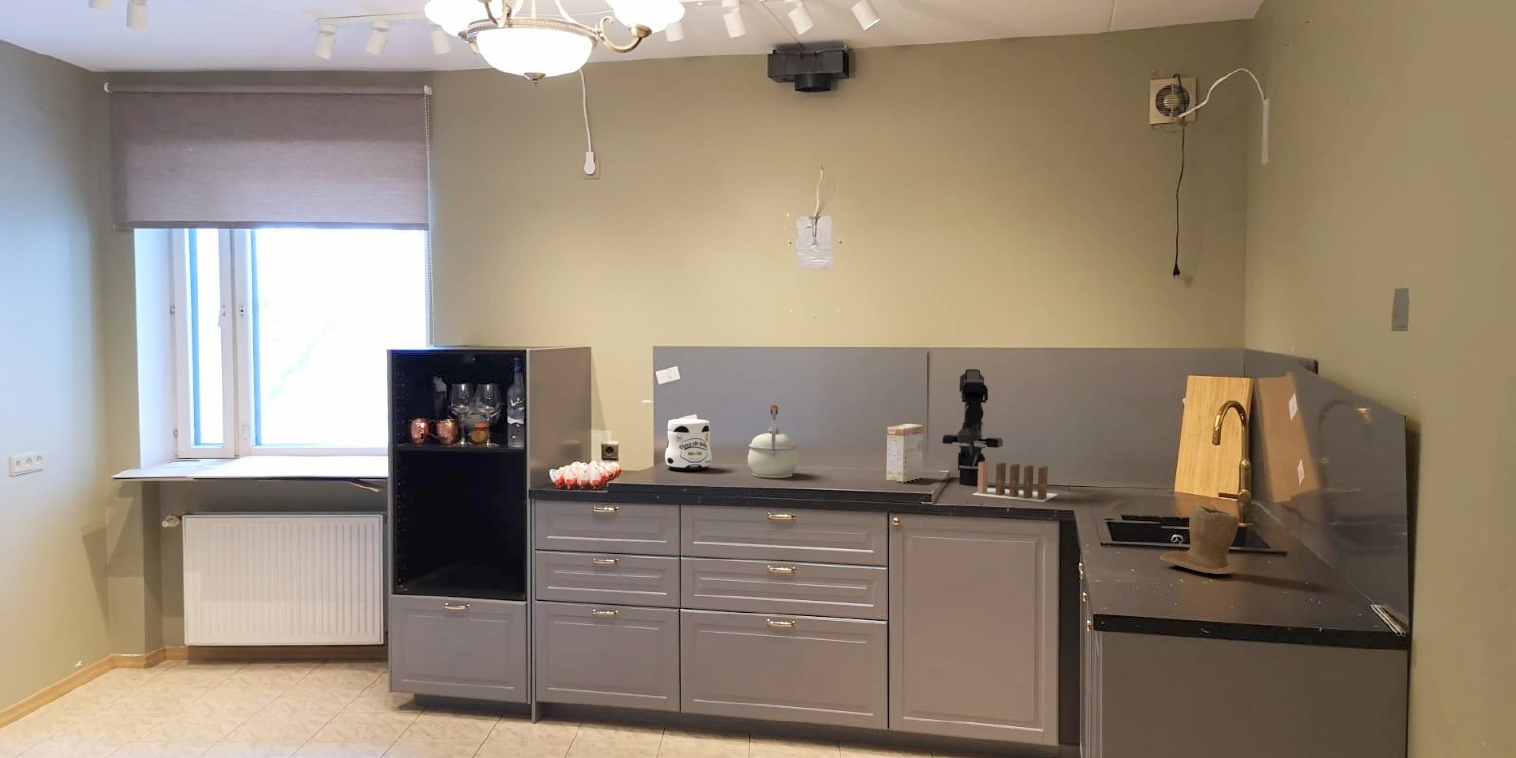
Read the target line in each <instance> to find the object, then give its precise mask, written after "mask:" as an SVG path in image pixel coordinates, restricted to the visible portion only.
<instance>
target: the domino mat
mask: <svg viewBox="0 0 1516 758" xmlns="http://www.w3.org/2000/svg"><path fill="white" fill-rule="evenodd" d="M1009 489H1010V488H1009ZM1009 489H1008V488H1005V494H1003V495H1001V496H999V495H995V494H996V487H991V486H990V487H989V486H988V487H987V492H985V493H983V494H979V493H978V491H977V492H975V493H972V494H971V495H973V496H982V497H990V498H1000V499H1002V498H1003V499H1010V500H1019V501H1020V500H1021V501H1029V502H1030V501H1031V502H1039V503H1044V502H1046V501H1048V500H1050V499H1052V498H1054V497H1056V496H1058V493H1052V492H1051V493H1049V492H1047V498H1045V499H1043V500H1038V499H1037V496H1038V491H1033V496H1032V497H1030V498H1023V490H1020V489H1019V495H1017V496H1015V497H1009Z"/></svg>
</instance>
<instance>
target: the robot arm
mask: <svg viewBox="0 0 1516 758" xmlns="http://www.w3.org/2000/svg"><path fill="white" fill-rule="evenodd" d="M964 371H965V372H964V373H962V375H961V376H960V377H959V385H958V386H959V392H960V398H961V402H962V403H964V413H963V414H964V415H963V422H962V426H961V427H962V428H961V429H960V430H959V431H958V433H957V434H954V433H947V434H944V435H943V436H942V440H941V441H942V444H945V445H952V444H953V443H958V444H959V445H958V447H959V448H960V450H959V451H960V452H959V451H958V452H957V471H959V485H961V486H967V487H978V463H979V462H982V461H986V457H985V456H984V453H982V449H985V448H986V447H987V448H995V449H996V448H1000V447H1003V443H1004V441H1003V439H1002V437H995V436H989V437H986V438H983V433H982V432H983V431H982V429H983V428H982V427H983V426H984V422H983V417H984V413H985V412H984V409H983V404H986V403H987V401H988V400H989V389H988V387H987V384H985V377H984V376H983V374H982V373H981V370H980V369H978V368H967V369H965V370H964Z"/></svg>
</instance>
